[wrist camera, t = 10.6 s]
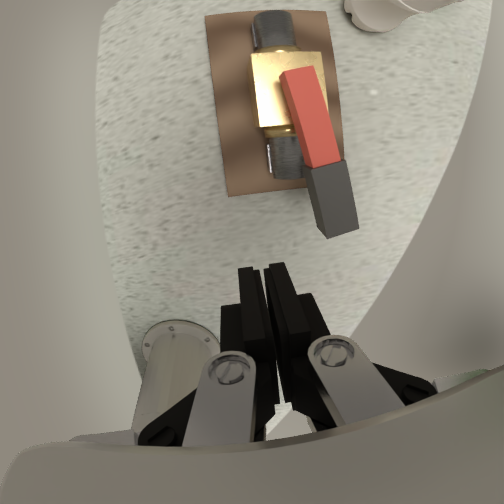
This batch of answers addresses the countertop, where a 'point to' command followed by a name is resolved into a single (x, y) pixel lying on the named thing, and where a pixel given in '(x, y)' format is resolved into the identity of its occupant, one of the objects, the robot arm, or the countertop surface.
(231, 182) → the mounting board
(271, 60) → the ball valve
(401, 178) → the countertop surface
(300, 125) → the valve lever
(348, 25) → the countertop surface
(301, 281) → the countertop surface
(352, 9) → the water bottle
